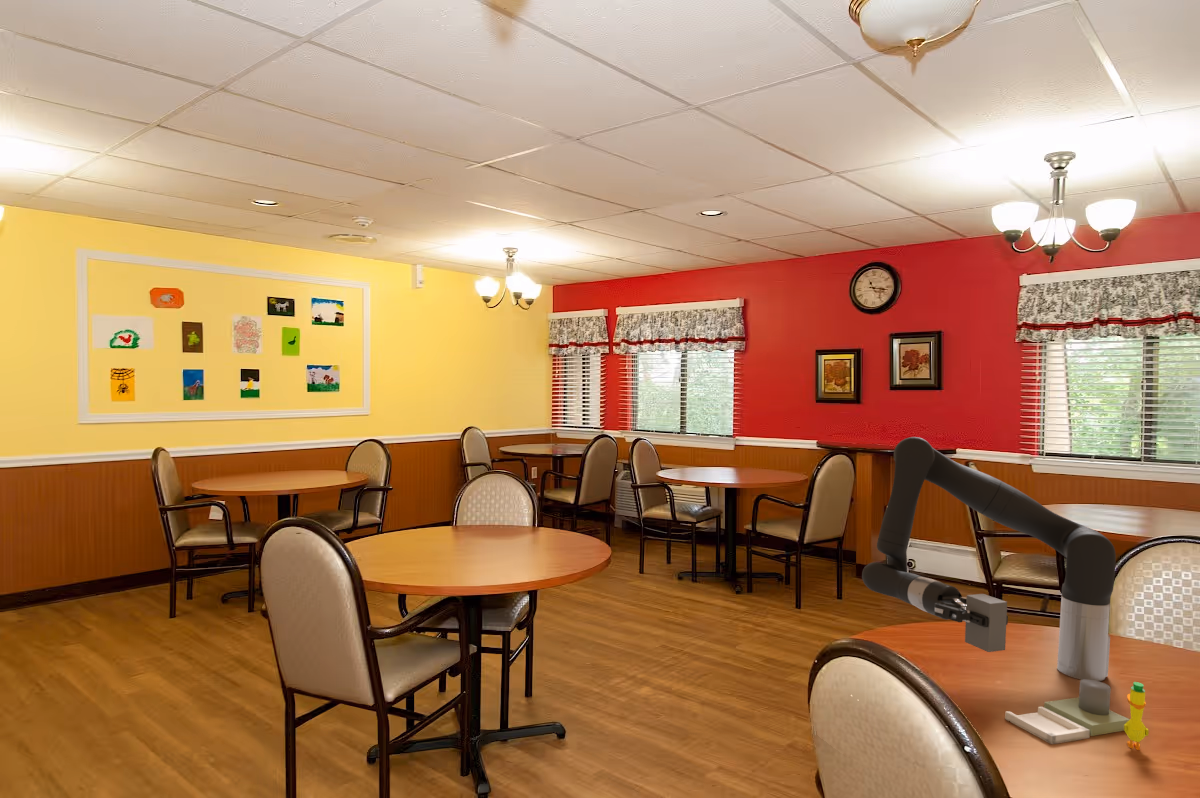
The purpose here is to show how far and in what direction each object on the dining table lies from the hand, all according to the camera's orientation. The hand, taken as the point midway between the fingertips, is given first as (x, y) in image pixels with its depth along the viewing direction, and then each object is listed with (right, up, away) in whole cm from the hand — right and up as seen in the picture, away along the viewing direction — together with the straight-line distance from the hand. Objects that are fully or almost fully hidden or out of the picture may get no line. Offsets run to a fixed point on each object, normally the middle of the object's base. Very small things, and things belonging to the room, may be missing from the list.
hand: (996, 621), depth 149 cm
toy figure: (+16, -18, -16) cm, 29 cm away
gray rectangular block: (-1, -6, +3) cm, 7 cm away
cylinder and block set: (+9, -17, -8) cm, 21 cm away
